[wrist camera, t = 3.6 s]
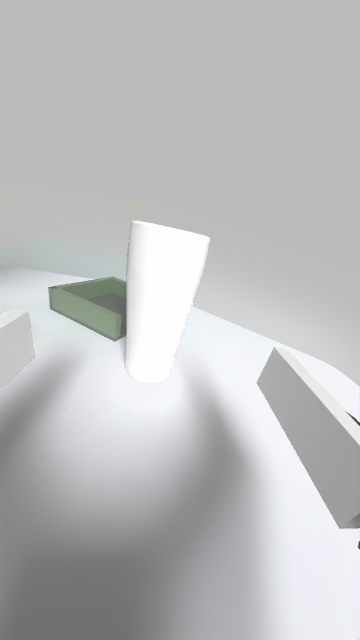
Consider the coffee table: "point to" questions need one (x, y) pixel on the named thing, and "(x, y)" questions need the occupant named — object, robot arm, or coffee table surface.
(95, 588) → the coffee table surface
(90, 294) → the tray
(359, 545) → the robot arm
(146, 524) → the coffee table surface
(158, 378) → the drinking glass
